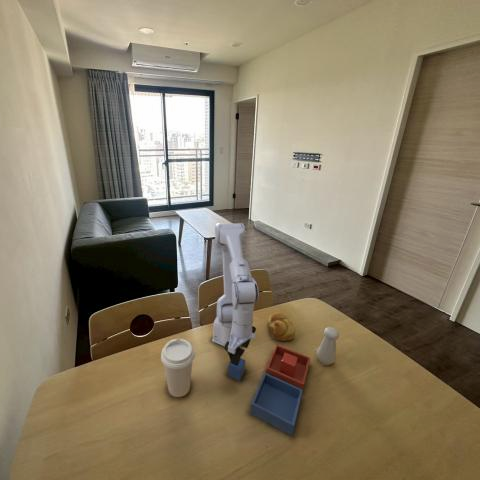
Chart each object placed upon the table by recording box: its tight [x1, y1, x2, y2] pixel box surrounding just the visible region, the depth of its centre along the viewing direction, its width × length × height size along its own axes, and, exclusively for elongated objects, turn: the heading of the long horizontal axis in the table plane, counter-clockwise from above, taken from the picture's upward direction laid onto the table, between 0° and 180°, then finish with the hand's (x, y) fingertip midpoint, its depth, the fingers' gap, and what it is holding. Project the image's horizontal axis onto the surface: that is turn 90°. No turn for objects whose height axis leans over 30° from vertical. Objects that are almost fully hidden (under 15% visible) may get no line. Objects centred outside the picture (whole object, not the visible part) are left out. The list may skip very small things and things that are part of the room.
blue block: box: [227, 357, 246, 382], centre depth 79 cm, size 4×4×5 cm
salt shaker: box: [316, 326, 340, 367], centre depth 83 cm, size 6×6×13 cm
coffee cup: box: [160, 338, 196, 398], centre depth 73 cm, size 10×10×15 cm
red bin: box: [265, 344, 311, 393], centre depth 80 cm, size 11×11×4 cm
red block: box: [280, 353, 298, 378], centre depth 80 cm, size 4×4×5 cm
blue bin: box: [249, 372, 304, 437], centre depth 70 cm, size 11×11×4 cm
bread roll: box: [267, 312, 296, 342], centre depth 96 cm, size 13×10×8 cm
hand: (239, 354), depth 77 cm, fingers open, 7 cm apart
